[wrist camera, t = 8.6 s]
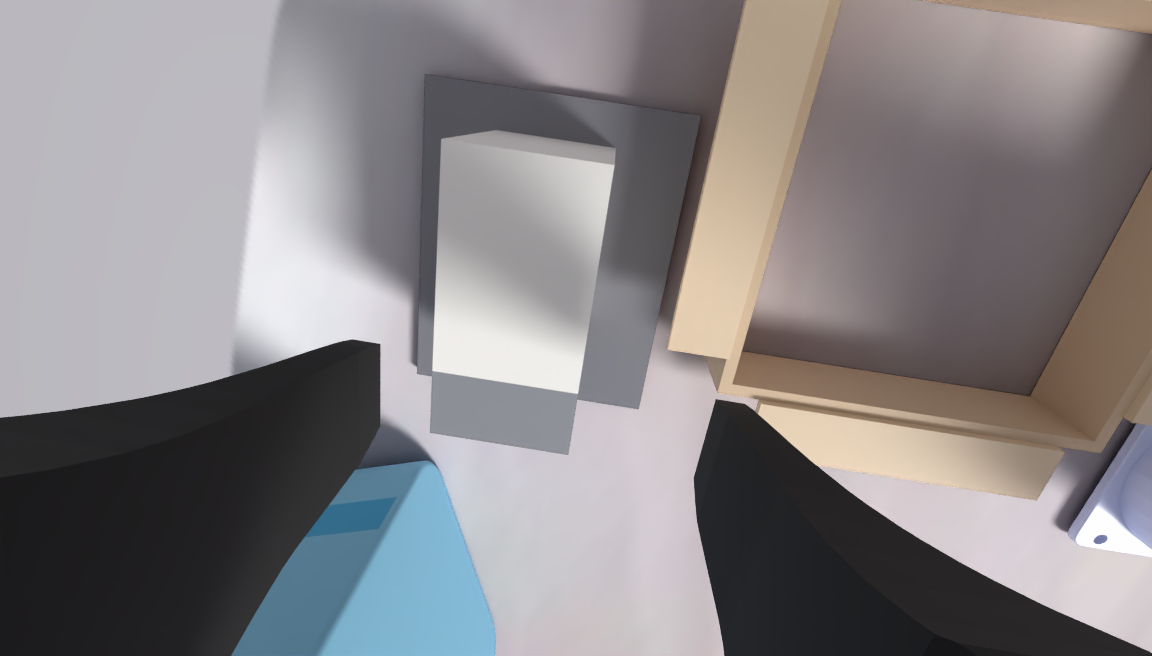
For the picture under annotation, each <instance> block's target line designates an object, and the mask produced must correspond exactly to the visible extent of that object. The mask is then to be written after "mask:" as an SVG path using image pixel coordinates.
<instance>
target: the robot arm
mask: <svg viewBox="0 0 1152 656" xmlns="http://www.w3.org/2000/svg"><path fill="white" fill-rule="evenodd" d="M379 427H380V344H377V343H370V342H364V341H358V340H347V341H342V342H338V343H335V344H331V345H328V346H325V347H322V348H318V349H315V350H312V351H309V352H306V353H303V354H300V355H297V356H294V357H291V358H288V359H285V360H282V361H279V362H276V363H273V364H270V365H267V366H264V367H260V368H257V369H253V370H250V371H247V372H243V373H240V374H237V375H233V376H230V377H226V378H223V379H220V380H216V381H213V382H209V383H205V384H202V385H198V386H194V387H190V388H185V389H181V390H177V391H172V392H168V393H163V394H158V395H154V396H149V397H144V398H139V399H134V400H128V401H121V402H115V403H110V404H103V405H97V406H90V407H84V408H78V409H72V410H66V411H58V412H50V413H41V414H32V415H24V416H15V417H4V418H0V656H231V655H232V653H233V652H234V650H235V648H236V646H237V645H238V643H239V641H240V639H241V638H242V636H243V634H244V632H245V631H246V629H247V627H248V625H249V623H250V622H251V620H252V618H253V616H254V615H255V613H256V611H257V610H258V608H259V606H260V605H261V603H262V601H263V600H264V598H265V597H266V595H267V593H268V592H269V590H270V588H271V587H272V585H273V583H274V582H275V580H276V578H277V577H278V575H279V573H280V572H281V570H282V568H283V567H284V566H285V564H286V563H287V561H288V560H289V558H290V557H291V555H292V554H293V552H294V551H295V550H296V548H297V547H298V545H299V544H300V543H301V541H302V540H303V539H304V537H305V536H306V535H307V533H308V532H309V531H310V530H311V528H312V527H313V526H314V524H315V523H316V522H317V520H318V519H319V518H320V516H321V515H322V514H323V512H324V511H325V510H326V508H327V507H328V506H329V504H330V503H331V502H332V500H333V499H334V498H335V496H336V495H337V494H338V492H339V491H340V490H341V488H342V487H343V486H344V484H345V483H346V482H347V480H348V479H349V478H350V476H351V475H352V474H353V472H354V471H355V469H356V468H357V467H358V465H359V464H360V462H361V460H362V459H363V457H364V455H365V453H366V452H367V450H368V448H369V446H370V444H371V442H372V440H373V439H374V437H375V435H376V433H377V431H378V429H379ZM694 489H695V504H696V515H697V523H698V528H699V532H700V537H701V542H702V546H703V551H704V556H705V560H706V565H707V569H708V574H709V578H710V583H711V587H712V592H713V596H714V601H715V605H716V610H717V614H718V619H719V624H720V629H721V635H722V641H723V647H724V656H1152V653H1150V652H1149V651H1147V650H1144V649H1142V648H1140V647H1137V646H1135V645H1133V644H1130V643H1128V642H1126V641H1124V640H1121V639H1119V638H1117V637H1114V636H1112V635H1110V634H1108V633H1105V632H1103V631H1101V630H1098V629H1096V628H1094V627H1091V626H1089V625H1087V624H1085V623H1082V622H1080V621H1078V620H1075V619H1073V618H1071V617H1068V616H1066V615H1064V614H1062V613H1059V612H1057V611H1055V610H1053V609H1050V608H1048V607H1046V606H1044V605H1042V604H1040V603H1038V602H1036V601H1034V600H1032V599H1030V598H1028V597H1026V596H1024V595H1022V594H1020V593H1018V592H1016V591H1014V590H1012V589H1010V588H1008V587H1006V586H1004V585H1002V584H1000V583H998V582H996V581H994V580H992V579H990V578H988V577H986V576H984V575H982V574H980V573H978V572H977V571H975V570H973V569H971V568H969V567H967V566H965V565H964V564H962V563H960V562H958V561H956V560H955V559H953V558H951V557H950V556H948V555H946V554H944V553H943V552H941V551H939V550H937V549H936V548H934V547H932V546H931V545H929V544H927V543H925V542H924V541H922V540H920V539H919V538H917V537H915V536H914V535H912V534H911V533H909V532H907V531H906V530H904V529H903V528H901V527H899V526H898V525H896V524H895V523H894V522H892V521H891V520H889V519H888V518H886V517H885V516H883V515H882V514H880V513H879V512H877V511H876V510H874V509H873V508H871V507H870V506H868V505H867V504H866V503H864V502H863V501H861V500H860V499H859V498H857V497H856V496H855V495H853V494H852V493H850V492H849V491H848V490H847V489H845V488H844V487H843V486H842V485H840V484H839V483H838V482H836V481H835V480H834V479H833V478H831V477H830V476H829V475H828V474H826V473H825V472H824V471H823V470H821V469H820V468H819V467H818V466H817V465H815V464H814V463H813V462H812V461H811V460H809V459H808V458H807V457H806V456H805V455H804V454H802V453H801V452H800V451H799V450H798V449H797V448H796V447H794V446H793V445H792V444H791V443H790V442H789V441H788V440H787V439H785V438H784V437H783V436H782V435H781V434H780V433H779V432H778V431H777V430H775V429H774V428H773V427H772V426H771V425H770V424H769V423H768V422H766V421H765V420H764V419H763V418H762V417H761V416H760V415H758V414H757V413H756V412H755V411H754V410H752V409H751V408H750V407H748V406H747V405H746V404H742V403H735V402H729V401H723V400H717V399H716V401H715V404H714V408H713V411H712V415H711V419H710V422H709V426H708V429H707V433H706V436H705V440H704V444H703V447H702V451H701V454H700V458H699V461H698V465H697V469H696V472H695V476H694ZM1068 535H1069V537H1070V538H1071V539H1072V540H1073V541H1074V542H1075V543H1076V544H1077V545H1080V546H1086V547H1092V548H1098V549H1104V550H1110V551H1117V552H1123V553H1129V554H1135V555H1141V556H1148V557H1152V426H1149V425H1143V424H1136V425H1135V427H1134V429H1133V430H1132V432H1131V433H1130V435H1129V436H1128V438H1127V440H1126V441H1125V443H1124V444H1123V446H1122V447H1121V449H1120V451H1119V452H1118V454H1117V455H1116V457H1115V458H1114V460H1113V461H1112V463H1111V465H1110V466H1109V468H1108V469H1107V471H1106V472H1105V474H1104V476H1103V477H1102V479H1101V480H1100V482H1099V483H1098V485H1097V486H1096V488H1095V490H1094V491H1093V493H1092V494H1091V496H1090V497H1089V499H1088V501H1087V502H1086V504H1085V505H1084V507H1083V508H1082V510H1081V512H1080V513H1079V515H1078V516H1077V518H1076V519H1075V521H1074V522H1073V524H1072V526H1071V527H1070V529H1069V532H1068Z"/></svg>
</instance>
